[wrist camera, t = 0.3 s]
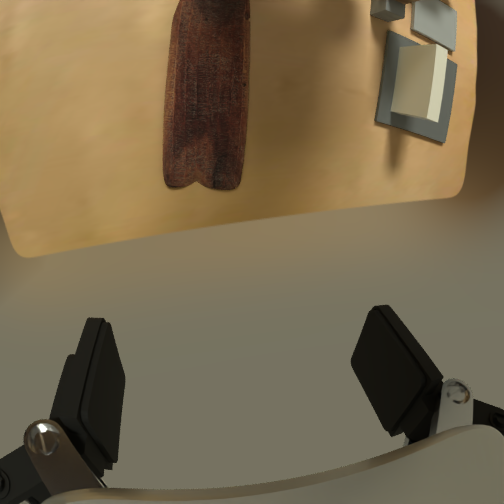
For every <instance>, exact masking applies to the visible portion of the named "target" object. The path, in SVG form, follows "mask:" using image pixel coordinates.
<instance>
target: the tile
mask: <svg viewBox="0 0 504 504" xmlns="http://www.w3.org/2000/svg"><path fill="white" fill-rule="evenodd" d="M447 53H448V50H446V49H445V48H443V47H441V46H439V45H438V44H428V45H416V46H406V47H400V50H399V58H398V66H397V74H396V81H395V87H394V94H393V100H392V106H391V111H392V112H395V113H398V114H401V115H406V116H410V117H415V118H420V119H425V120H429V121H433V122H437V123H438V120H439V114H440V108H441V102H442V95H443V88H444V81H445V72H446V63H447Z"/></svg>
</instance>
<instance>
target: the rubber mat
mask: <svg viewBox="0 0 504 504" xmlns="http://www.w3.org/2000/svg"><path fill="white" fill-rule="evenodd" d="M416 45H420V44H418V43H416V42H414V41H412V40H410V39H408V38H406V37H404V36H401V35H399V34H397V33H395V32H392V31H390V30H389V31H387V39H386V48H385V56H384V63H383V71H382V78H381V84H380V91H379V97H378V103H377V109H376V115H375V120H374V121H377V122H381V123H384V124H388V125H391V126H395V127H398V128H401V129H404V130H407V131H411V132H414V133H417V134H420V135H423V136H425V137H428V138H431V139H434V140H437V141H440V142H442V143H445V141H446V136H447V131H448V126H449V120H450V115H451V108H452V102H453V95H454V88H455V80H456V72H457V64H456V63H454V62H452V61H450V60H449V59H447V63H446V72H445V81H444V88H443V95H442V102H441V108H440V114H439V120H438V123H437V122H433V121H429V120H425V119H420V118H415V117H410V116H406V115H401V114H398V113H395V112H392V111H391V106H392V100H393V94H394V87H395V81H396V74H397V66H398V58H399V50H400V47H406V46H416Z"/></svg>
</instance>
